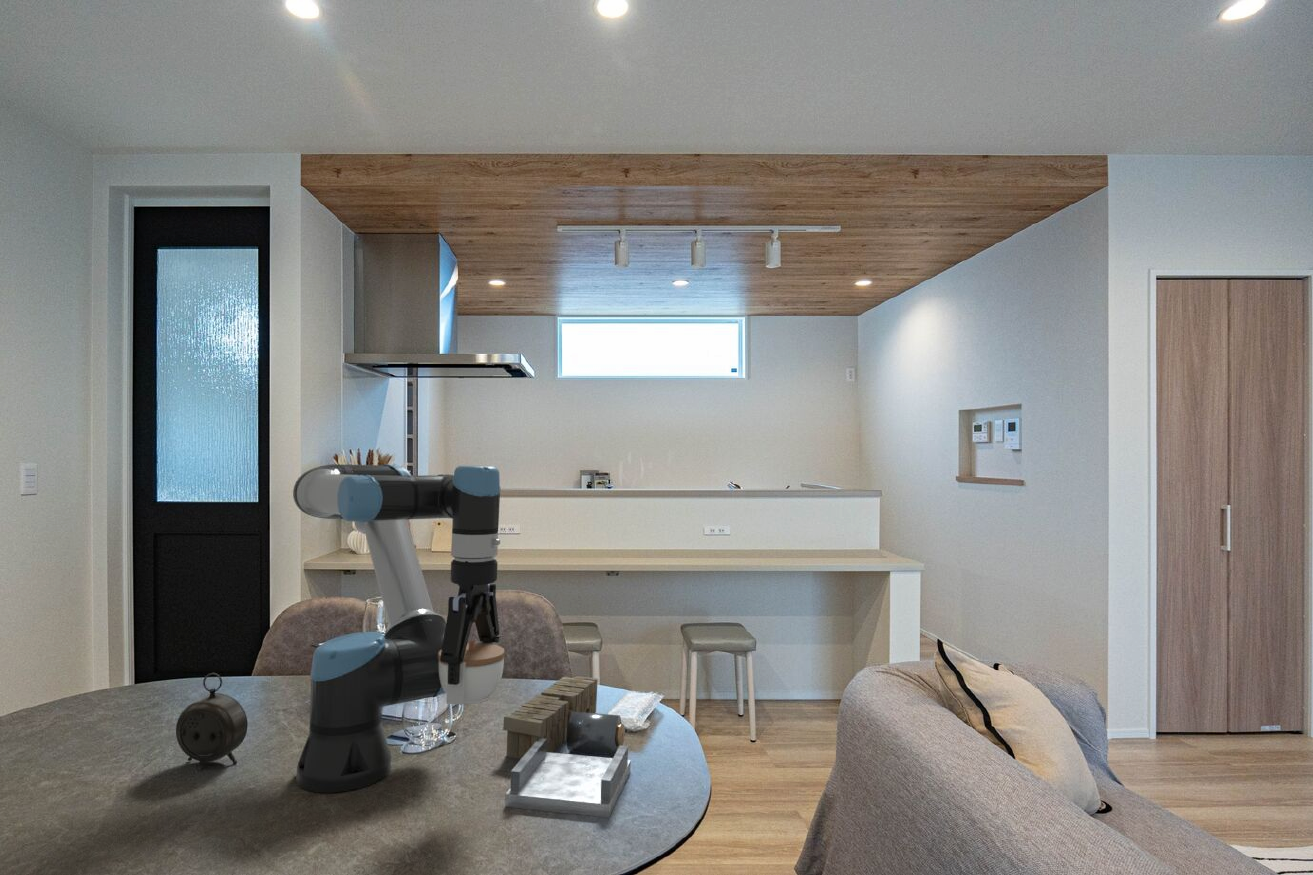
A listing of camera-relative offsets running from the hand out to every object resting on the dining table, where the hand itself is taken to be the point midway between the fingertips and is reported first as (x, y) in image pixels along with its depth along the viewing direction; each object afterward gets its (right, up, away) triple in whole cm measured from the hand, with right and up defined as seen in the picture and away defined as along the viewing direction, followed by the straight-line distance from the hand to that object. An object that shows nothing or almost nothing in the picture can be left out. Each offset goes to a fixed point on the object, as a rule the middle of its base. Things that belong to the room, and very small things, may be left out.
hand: (470, 691), depth 119 cm
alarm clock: (-49, -16, +8) cm, 52 cm away
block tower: (+10, -18, +27) cm, 34 cm away
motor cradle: (+17, -17, +8) cm, 26 cm away
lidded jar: (0, -1, 0) cm, 1 cm away
